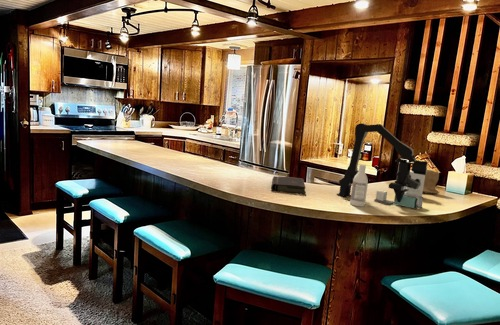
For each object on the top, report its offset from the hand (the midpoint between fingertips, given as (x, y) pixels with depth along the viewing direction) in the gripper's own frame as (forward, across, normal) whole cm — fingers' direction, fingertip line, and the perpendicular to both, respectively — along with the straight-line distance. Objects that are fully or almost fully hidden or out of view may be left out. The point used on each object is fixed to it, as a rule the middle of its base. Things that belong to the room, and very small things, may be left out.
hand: (398, 202), depth 192 cm
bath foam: (+3, -20, +13) cm, 24 cm away
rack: (+2, +8, -2) cm, 8 cm away
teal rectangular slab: (+2, +2, -2) cm, 3 cm away
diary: (+3, -22, +53) cm, 58 cm away
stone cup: (+1, +63, +6) cm, 63 cm away
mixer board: (+2, +1, +8) cm, 8 cm away
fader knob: (+1, +1, +10) cm, 10 cm away
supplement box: (+2, +39, +6) cm, 39 cm away
